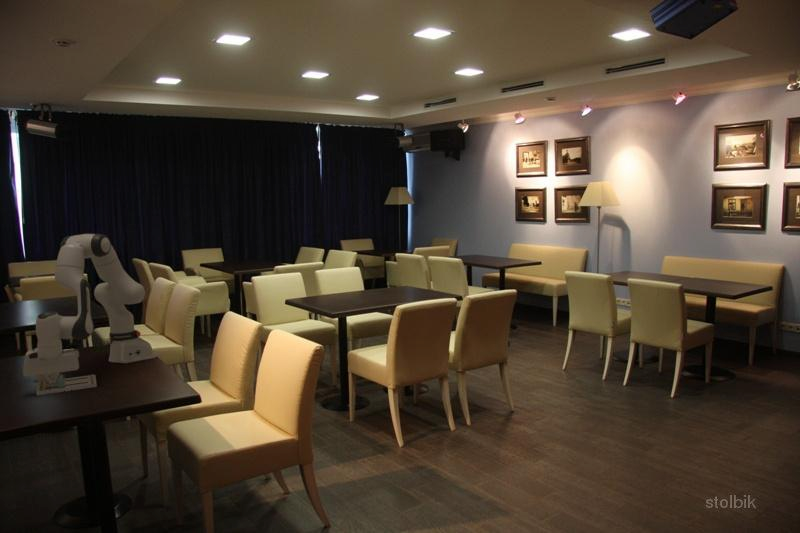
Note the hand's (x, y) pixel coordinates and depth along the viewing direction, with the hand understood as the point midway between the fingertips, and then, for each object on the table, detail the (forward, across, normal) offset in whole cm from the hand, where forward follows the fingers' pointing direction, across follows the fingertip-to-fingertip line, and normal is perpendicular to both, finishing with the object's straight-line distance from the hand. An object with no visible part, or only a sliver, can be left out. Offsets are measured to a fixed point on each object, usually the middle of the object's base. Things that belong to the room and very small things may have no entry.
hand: (52, 383), depth 251 cm
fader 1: (+2, 0, -8) cm, 8 cm away
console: (+3, -5, -4) cm, 7 cm away
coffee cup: (+3, +3, -22) cm, 22 cm away
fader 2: (+1, -3, 0) cm, 3 cm away
